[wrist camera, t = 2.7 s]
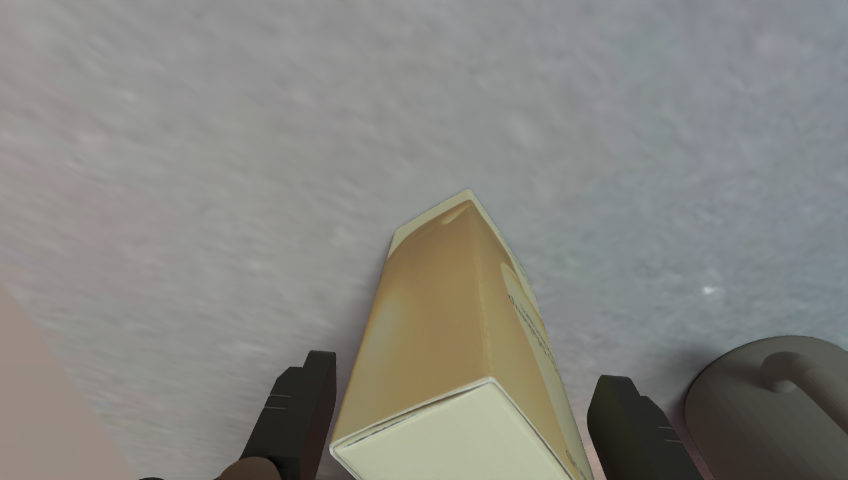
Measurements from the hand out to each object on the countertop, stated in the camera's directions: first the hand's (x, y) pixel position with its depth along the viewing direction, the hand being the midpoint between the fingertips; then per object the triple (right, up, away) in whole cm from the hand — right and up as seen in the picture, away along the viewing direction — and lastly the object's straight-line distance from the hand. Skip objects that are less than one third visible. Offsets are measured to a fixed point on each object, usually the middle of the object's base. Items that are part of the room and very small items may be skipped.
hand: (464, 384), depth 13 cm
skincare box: (+1, +4, +8) cm, 9 cm away
